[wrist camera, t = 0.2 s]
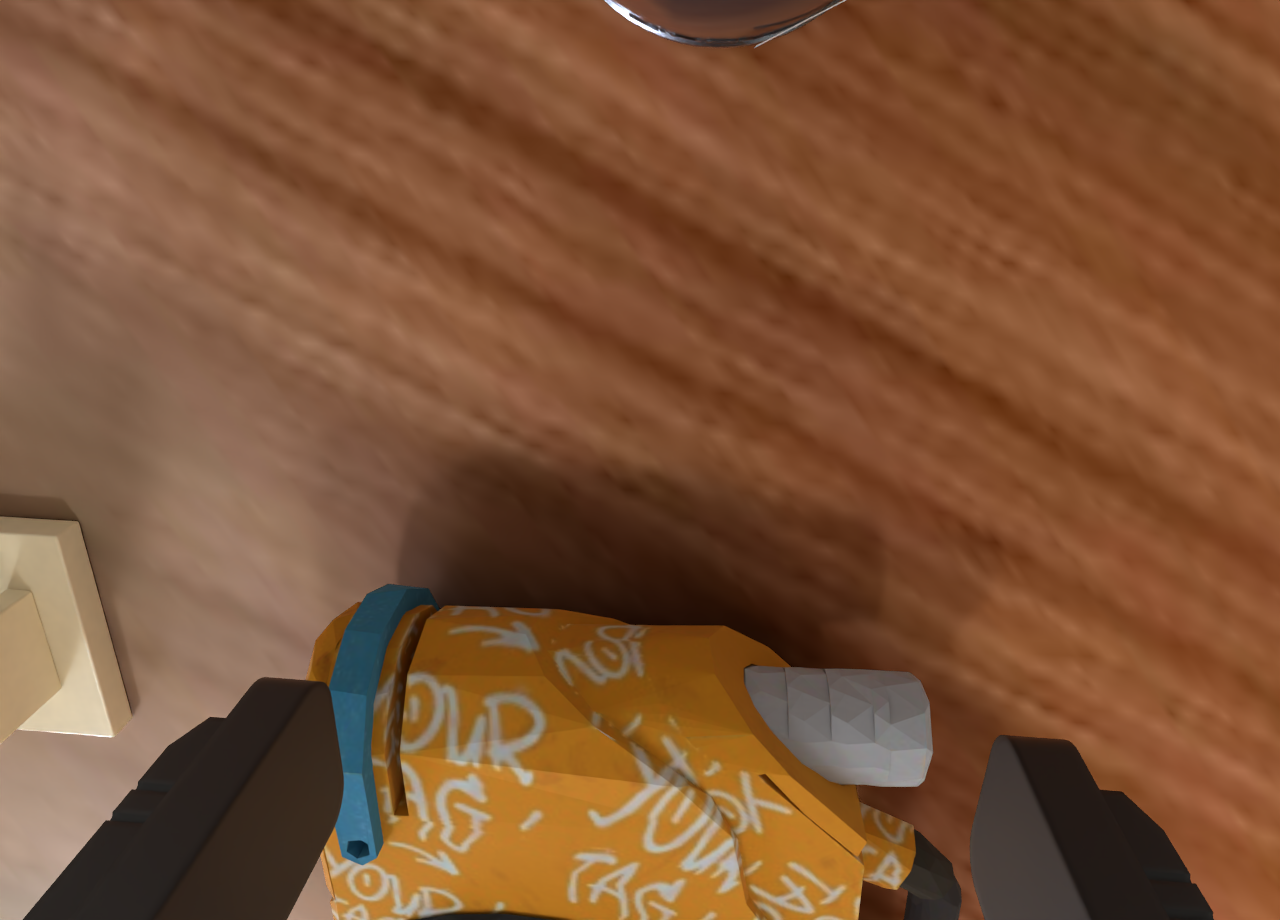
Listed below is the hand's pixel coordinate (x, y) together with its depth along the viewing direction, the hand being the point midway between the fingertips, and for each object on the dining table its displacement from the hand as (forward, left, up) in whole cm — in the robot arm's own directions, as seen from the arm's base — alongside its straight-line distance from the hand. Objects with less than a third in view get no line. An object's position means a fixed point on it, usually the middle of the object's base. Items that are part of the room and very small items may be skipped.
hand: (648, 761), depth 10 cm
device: (+22, 0, -18) cm, 28 cm away
